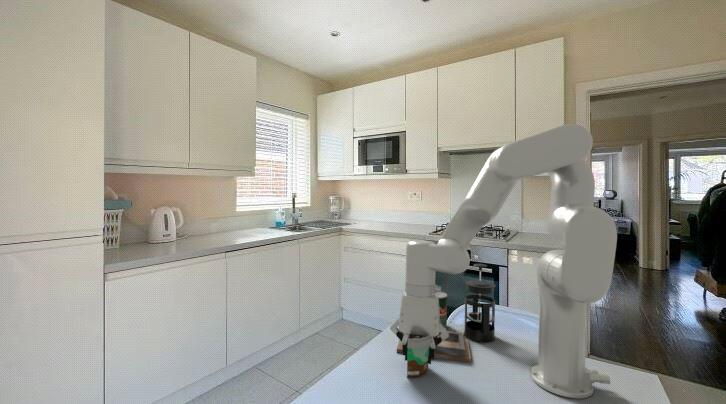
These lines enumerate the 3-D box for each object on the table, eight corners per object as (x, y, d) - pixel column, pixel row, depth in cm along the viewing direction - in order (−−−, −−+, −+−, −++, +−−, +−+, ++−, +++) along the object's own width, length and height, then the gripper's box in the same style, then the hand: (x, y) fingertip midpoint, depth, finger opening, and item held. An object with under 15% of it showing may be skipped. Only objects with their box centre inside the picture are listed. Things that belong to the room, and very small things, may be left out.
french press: (459, 328, 105) (460, 260, 105) (488, 329, 105) (489, 261, 105) (470, 345, 94) (471, 268, 93) (502, 346, 93) (503, 269, 93)
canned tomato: (442, 332, 102) (442, 299, 102) (419, 327, 106) (420, 294, 106) (449, 324, 109) (450, 293, 109) (427, 319, 113) (428, 289, 113)
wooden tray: (467, 342, 96) (467, 332, 95) (471, 362, 84) (471, 351, 84) (402, 334, 100) (402, 325, 100) (396, 352, 89) (396, 341, 89)
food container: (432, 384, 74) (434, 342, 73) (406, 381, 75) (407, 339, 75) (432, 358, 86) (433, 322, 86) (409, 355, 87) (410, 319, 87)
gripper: (454, 288, 82) (452, 357, 82) (389, 282, 86) (387, 348, 86) (455, 297, 74) (453, 373, 75) (384, 290, 79) (382, 362, 79)
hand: (418, 359), depth 80 cm, fingers closed on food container, 5 cm apart
